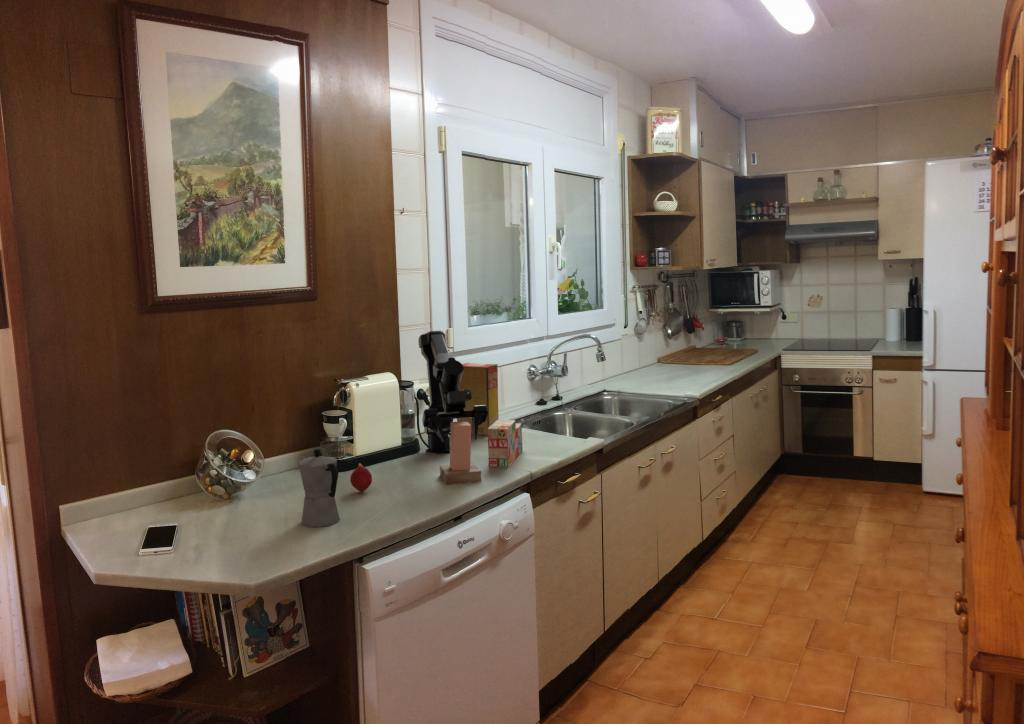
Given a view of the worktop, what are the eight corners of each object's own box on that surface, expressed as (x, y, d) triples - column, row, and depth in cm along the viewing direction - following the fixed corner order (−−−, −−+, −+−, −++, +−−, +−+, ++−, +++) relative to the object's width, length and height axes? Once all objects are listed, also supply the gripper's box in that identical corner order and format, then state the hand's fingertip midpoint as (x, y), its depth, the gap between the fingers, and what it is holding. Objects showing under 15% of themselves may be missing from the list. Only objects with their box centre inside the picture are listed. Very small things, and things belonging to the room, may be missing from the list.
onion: (376, 490, 208) (375, 462, 207) (364, 496, 203) (363, 467, 202) (359, 488, 210) (358, 460, 209) (346, 493, 205) (345, 465, 204)
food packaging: (500, 430, 279) (498, 363, 275) (489, 436, 270) (487, 367, 267) (468, 428, 284) (466, 362, 281) (456, 433, 276) (454, 365, 272)
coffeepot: (290, 519, 185) (285, 448, 183) (324, 510, 192) (320, 441, 189) (321, 535, 174) (317, 459, 172) (357, 524, 181) (353, 451, 178)
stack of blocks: (504, 450, 250) (503, 413, 248) (522, 450, 249) (522, 414, 247) (488, 467, 229) (487, 427, 228) (508, 468, 228) (507, 428, 226)
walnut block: (440, 477, 221) (439, 465, 221) (473, 474, 224) (473, 462, 224) (446, 486, 212) (446, 474, 211) (481, 483, 214) (480, 471, 214)
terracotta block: (449, 465, 219) (450, 422, 217) (466, 465, 220) (467, 421, 219) (452, 470, 214) (453, 425, 213) (470, 469, 216) (471, 425, 214)
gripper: (422, 381, 215) (430, 427, 206) (485, 377, 220) (496, 422, 211) (419, 404, 224) (426, 448, 215) (480, 399, 229) (490, 443, 220)
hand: (460, 440), depth 215 cm, fingers open, 9 cm apart
